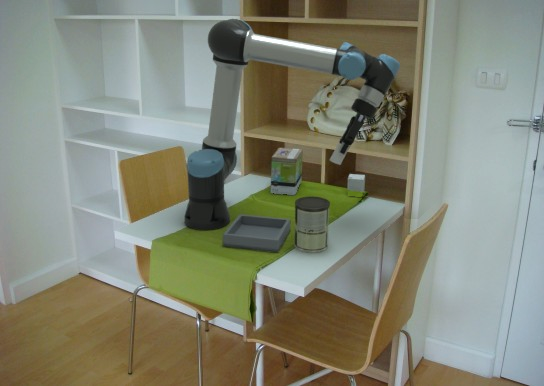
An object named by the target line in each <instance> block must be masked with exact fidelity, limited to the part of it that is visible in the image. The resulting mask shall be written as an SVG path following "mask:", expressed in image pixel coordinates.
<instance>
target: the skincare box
mask: <svg viewBox="0 0 544 386" xmlns="http://www.w3.org/2000/svg"><path fill="white" fill-rule="evenodd" d="M365 184H366V175H365V174H355V173H349V175H348V177H347V187H346V188H347V189H346V190H350V191H360V192H364V193H365V189H366V188H365Z"/></svg>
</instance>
